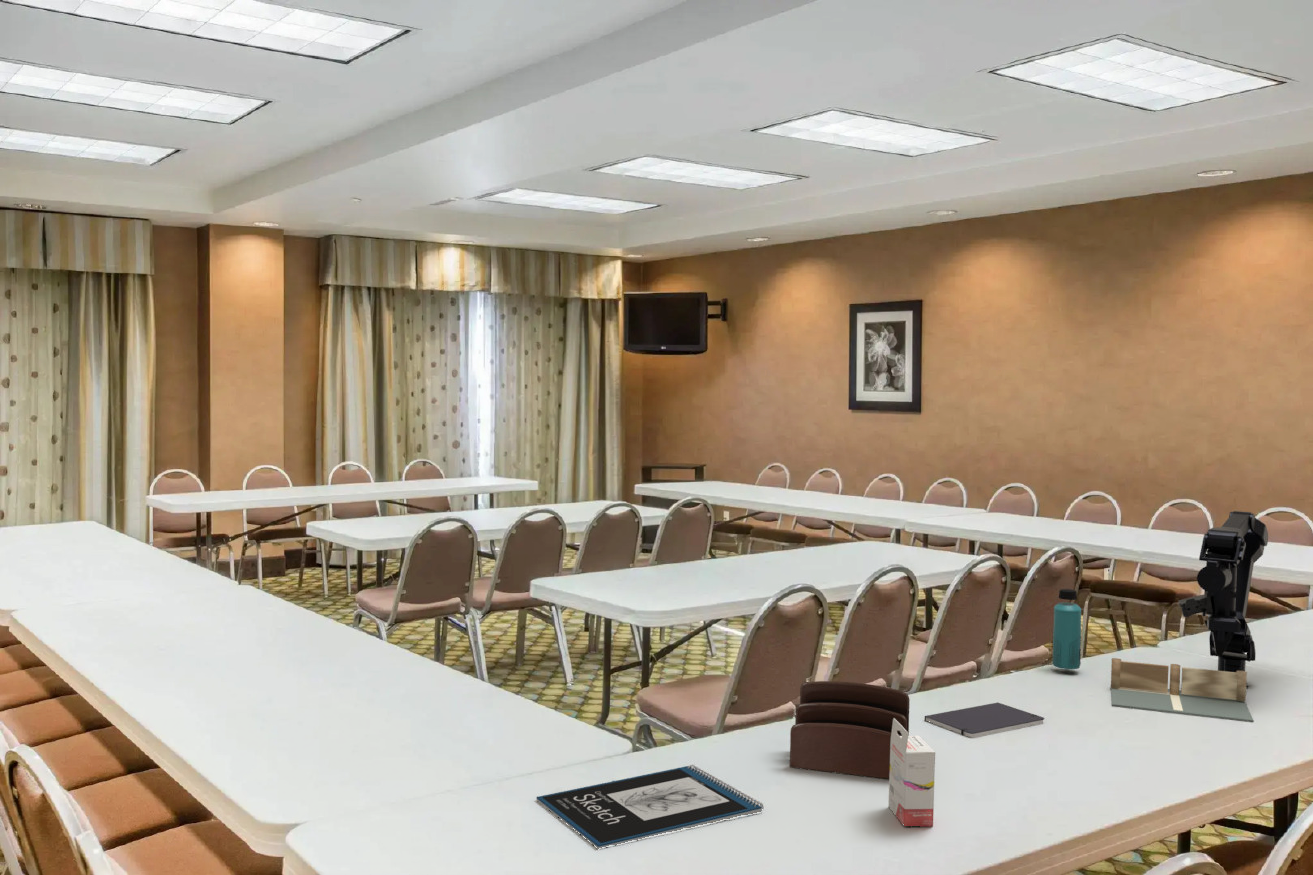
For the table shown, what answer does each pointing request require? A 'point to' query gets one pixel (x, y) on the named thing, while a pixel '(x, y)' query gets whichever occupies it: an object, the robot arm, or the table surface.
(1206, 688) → the hinged panel
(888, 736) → the letter holder
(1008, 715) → the notebook
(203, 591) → the table surface
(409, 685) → the table surface
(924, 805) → the ink cartridge box
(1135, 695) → the board
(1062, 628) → the beverage bottle
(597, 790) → the sketchbook
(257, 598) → the table surface
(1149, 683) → the fixed fence
